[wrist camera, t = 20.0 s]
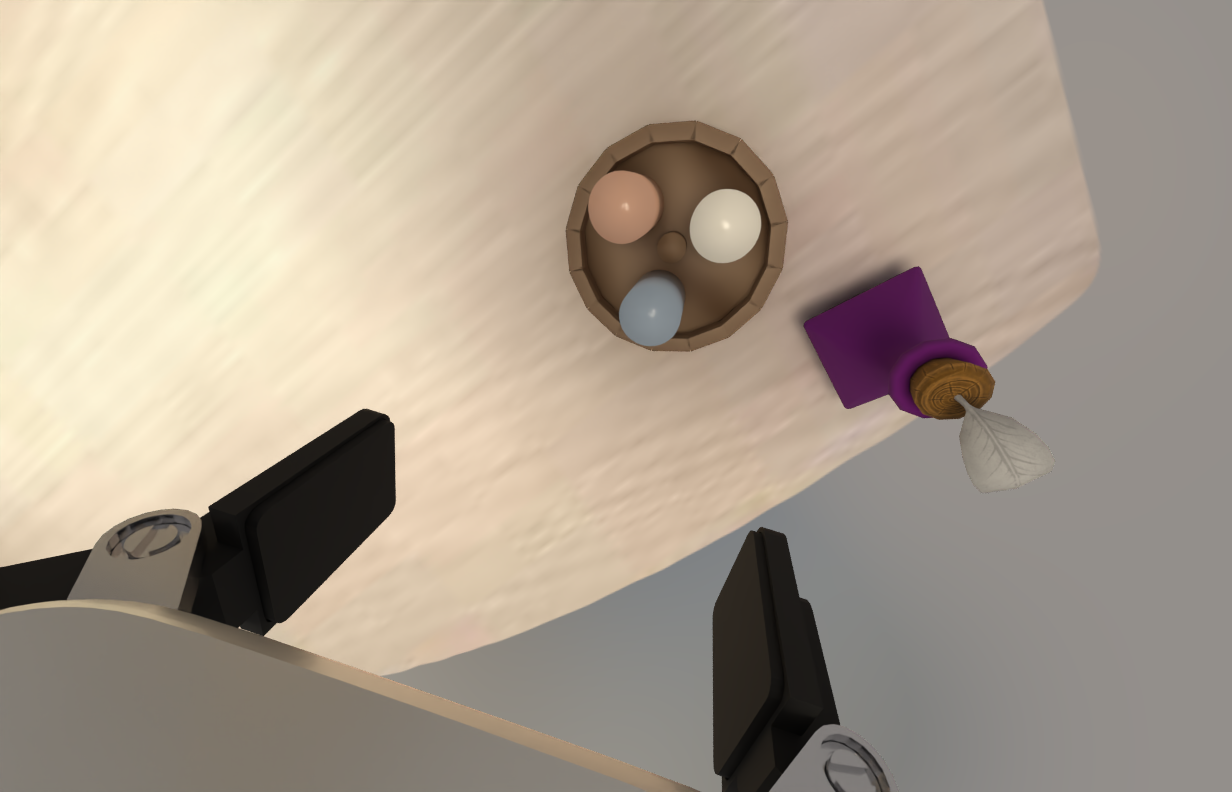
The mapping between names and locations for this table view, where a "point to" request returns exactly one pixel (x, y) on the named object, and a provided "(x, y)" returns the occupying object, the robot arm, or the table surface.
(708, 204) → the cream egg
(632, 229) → the bead terracotta
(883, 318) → the perfume bottle
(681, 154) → the groove tray
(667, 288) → the bead slate
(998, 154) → the table surface
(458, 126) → the table surface
